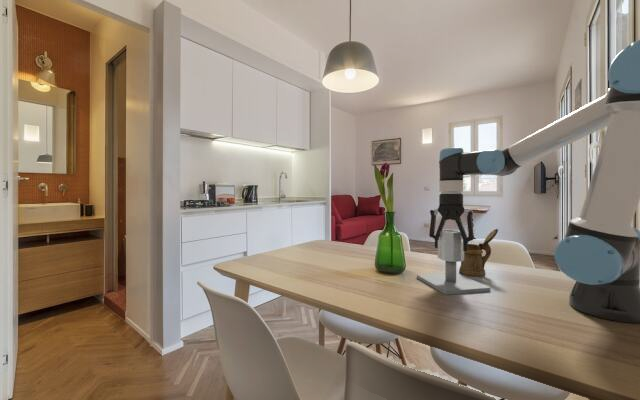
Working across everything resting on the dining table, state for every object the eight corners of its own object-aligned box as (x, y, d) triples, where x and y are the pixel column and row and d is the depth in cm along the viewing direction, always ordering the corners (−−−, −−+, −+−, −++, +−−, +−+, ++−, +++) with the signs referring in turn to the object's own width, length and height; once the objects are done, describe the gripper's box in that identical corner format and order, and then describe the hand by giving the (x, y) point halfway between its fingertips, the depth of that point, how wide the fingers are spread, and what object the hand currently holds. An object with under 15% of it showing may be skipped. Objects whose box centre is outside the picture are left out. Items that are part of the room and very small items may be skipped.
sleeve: (462, 258, 100) (462, 230, 100) (459, 262, 95) (459, 232, 94) (442, 256, 104) (442, 229, 103) (438, 260, 98) (438, 231, 98)
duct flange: (490, 291, 92) (490, 266, 92) (445, 294, 89) (445, 269, 89) (455, 275, 110) (455, 254, 109) (416, 277, 107) (416, 256, 107)
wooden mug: (501, 278, 105) (501, 230, 104) (460, 275, 109) (460, 229, 109) (495, 272, 113) (495, 227, 113) (457, 269, 118) (457, 226, 117)
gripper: (484, 192, 96) (484, 260, 97) (424, 193, 107) (424, 253, 108) (482, 193, 90) (481, 265, 90) (419, 193, 101) (419, 257, 102)
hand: (450, 258), depth 99 cm, fingers closed on sleeve, 7 cm apart
